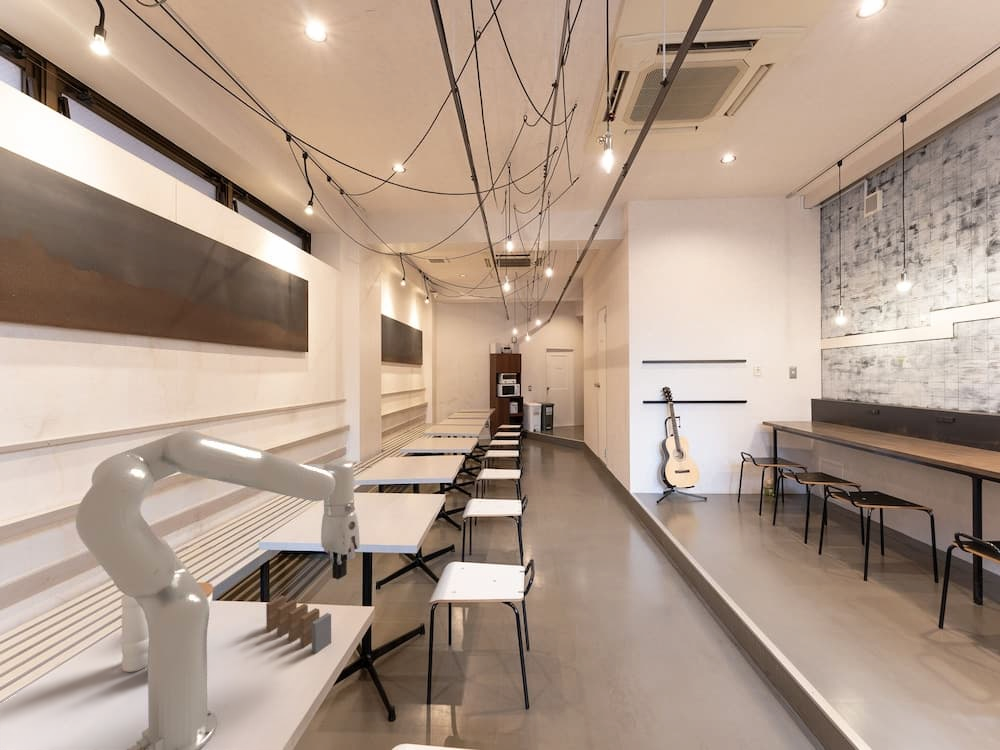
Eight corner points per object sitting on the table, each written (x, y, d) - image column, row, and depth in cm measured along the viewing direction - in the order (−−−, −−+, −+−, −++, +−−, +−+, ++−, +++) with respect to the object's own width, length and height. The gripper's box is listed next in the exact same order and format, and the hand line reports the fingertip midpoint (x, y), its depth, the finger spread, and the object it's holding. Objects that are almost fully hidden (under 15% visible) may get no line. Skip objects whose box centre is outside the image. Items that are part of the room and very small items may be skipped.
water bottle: (116, 667, 104) (116, 570, 104) (150, 651, 111) (149, 559, 111) (129, 677, 101) (128, 577, 101) (163, 659, 107) (162, 565, 107)
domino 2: (296, 627, 121) (296, 600, 121) (280, 637, 116) (280, 609, 116) (293, 626, 121) (292, 599, 121) (277, 635, 117) (277, 607, 117)
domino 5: (331, 642, 114) (331, 614, 114) (315, 653, 109) (315, 624, 109) (327, 641, 114) (327, 612, 114) (311, 652, 110) (311, 622, 110)
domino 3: (307, 632, 118) (307, 605, 118) (292, 642, 114) (292, 614, 114) (304, 630, 119) (304, 603, 119) (288, 640, 115) (288, 612, 115)
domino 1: (285, 622, 123) (285, 596, 123) (269, 632, 119) (269, 604, 118) (282, 621, 124) (282, 595, 124) (266, 630, 119) (266, 603, 119)
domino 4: (319, 637, 116) (319, 609, 116) (304, 648, 112) (303, 619, 112) (315, 635, 117) (315, 608, 117) (300, 646, 112) (300, 617, 112)
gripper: (370, 508, 108) (370, 576, 108) (331, 500, 115) (331, 564, 115) (348, 517, 102) (348, 590, 102) (308, 508, 109) (308, 576, 109)
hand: (339, 576), depth 109 cm, fingers closed
